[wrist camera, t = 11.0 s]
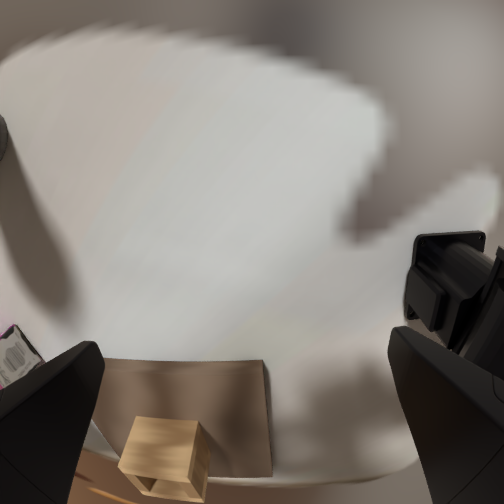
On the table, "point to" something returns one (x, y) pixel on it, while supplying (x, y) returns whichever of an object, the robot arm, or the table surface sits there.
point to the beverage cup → (2, 136)
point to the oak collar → (167, 458)
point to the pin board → (192, 408)
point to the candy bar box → (15, 356)
